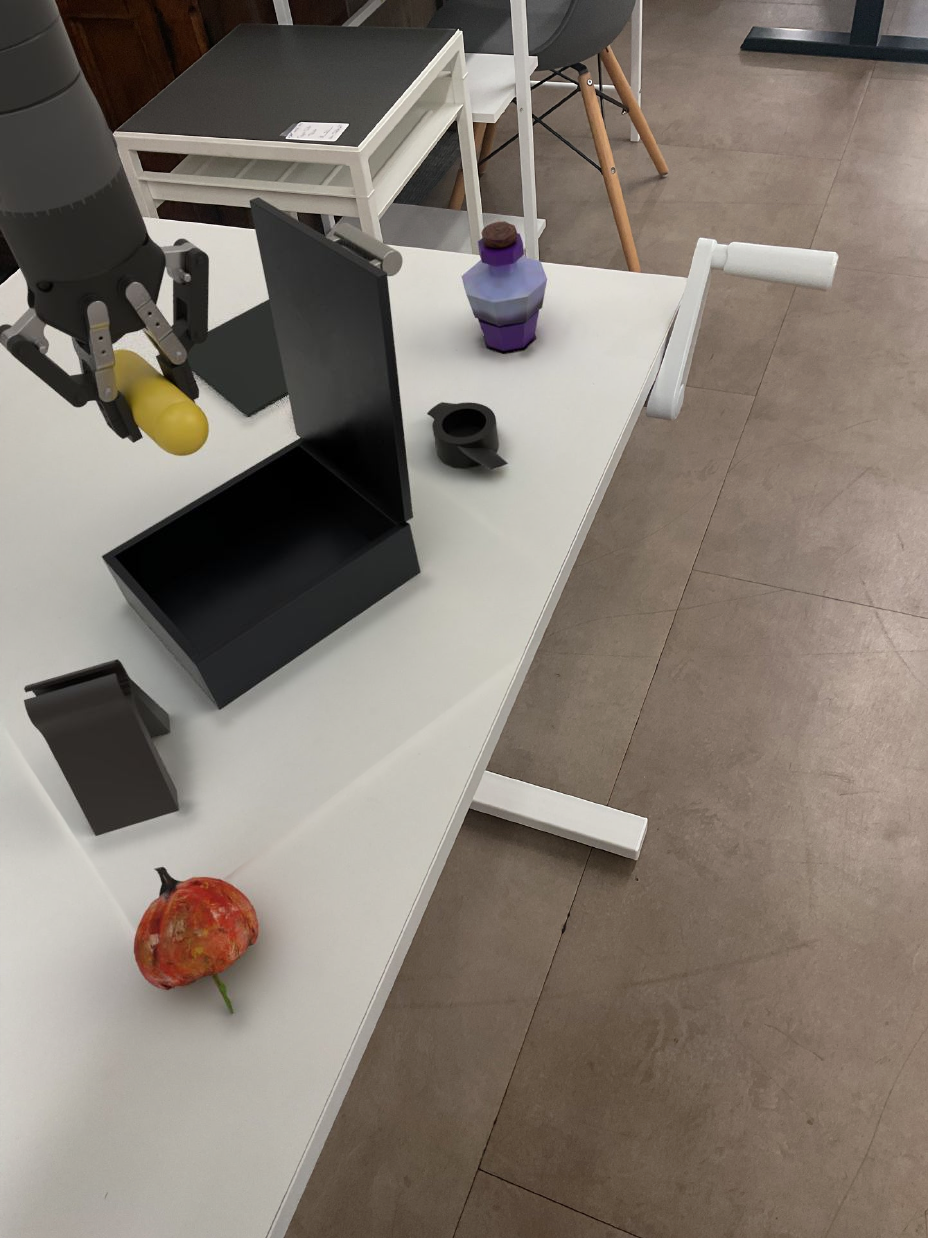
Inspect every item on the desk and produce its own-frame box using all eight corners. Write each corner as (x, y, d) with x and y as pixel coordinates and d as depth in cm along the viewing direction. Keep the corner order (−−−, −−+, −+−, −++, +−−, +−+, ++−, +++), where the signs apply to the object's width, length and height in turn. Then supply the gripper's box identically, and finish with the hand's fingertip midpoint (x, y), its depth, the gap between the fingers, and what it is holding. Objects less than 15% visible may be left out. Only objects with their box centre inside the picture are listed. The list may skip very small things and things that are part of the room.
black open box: (222, 715, 77) (196, 666, 72) (130, 606, 85) (100, 555, 81) (422, 578, 84) (410, 524, 79) (317, 490, 92) (301, 436, 87)
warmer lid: (377, 276, 63) (443, 248, 66) (248, 200, 72) (311, 177, 74) (405, 522, 78) (459, 492, 80) (296, 434, 87) (347, 409, 89)
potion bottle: (558, 314, 105) (552, 205, 96) (542, 365, 100) (534, 254, 91) (479, 311, 107) (465, 204, 98) (459, 360, 102) (443, 252, 93)
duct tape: (509, 409, 96) (506, 384, 94) (509, 480, 90) (506, 456, 88) (429, 416, 97) (424, 391, 95) (423, 487, 91) (418, 462, 88)
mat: (248, 417, 100) (247, 414, 100) (172, 354, 109) (170, 350, 109) (375, 344, 106) (375, 340, 106) (293, 289, 115) (292, 286, 114)
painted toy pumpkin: (295, 975, 65) (240, 830, 66) (273, 1014, 58) (212, 851, 58) (187, 1017, 65) (133, 872, 66) (152, 1062, 58) (92, 898, 58)
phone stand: (182, 817, 71) (118, 722, 62) (99, 842, 71) (22, 750, 62) (172, 718, 77) (112, 618, 68) (95, 741, 77) (24, 643, 68)
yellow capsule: (178, 475, 64) (159, 431, 62) (99, 398, 71) (78, 355, 68) (226, 447, 66) (209, 403, 63) (144, 375, 72) (125, 331, 69)
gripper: (133, 105, 60) (220, 351, 73) (-96, 202, 55) (41, 446, 68) (195, 141, 55) (275, 394, 69) (-47, 249, 51) (89, 500, 64)
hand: (158, 419), depth 68 cm, fingers closed on yellow capsule, 3 cm apart
